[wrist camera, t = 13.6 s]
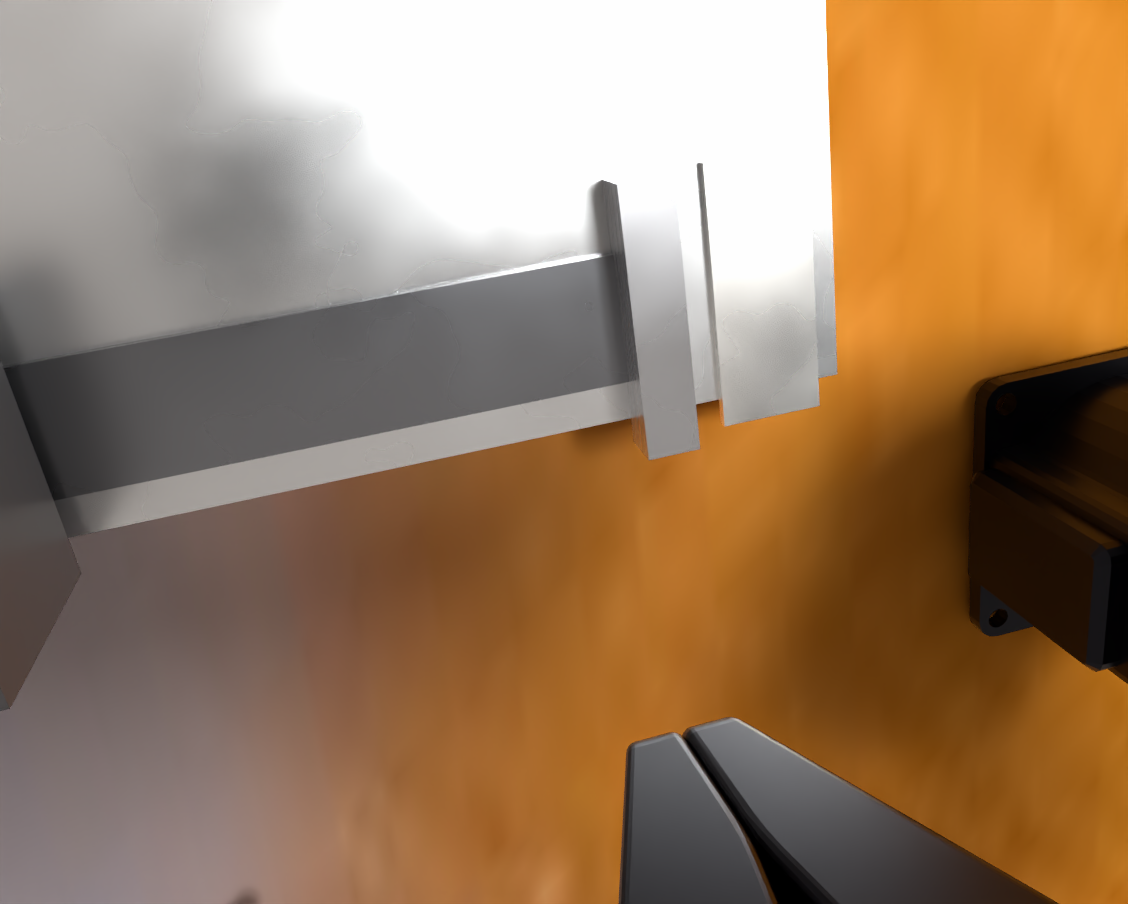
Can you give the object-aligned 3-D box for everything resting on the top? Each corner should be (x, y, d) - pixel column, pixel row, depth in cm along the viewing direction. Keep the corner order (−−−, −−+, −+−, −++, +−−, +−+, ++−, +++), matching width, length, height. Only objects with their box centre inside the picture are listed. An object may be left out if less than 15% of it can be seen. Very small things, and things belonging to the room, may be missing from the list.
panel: (766, -629, 14) (836, -745, 12) (810, 380, 20) (862, 413, 18) (-1017, -551, 11) (-1318, -691, 9) (-334, 624, 17) (-424, 695, 15)
